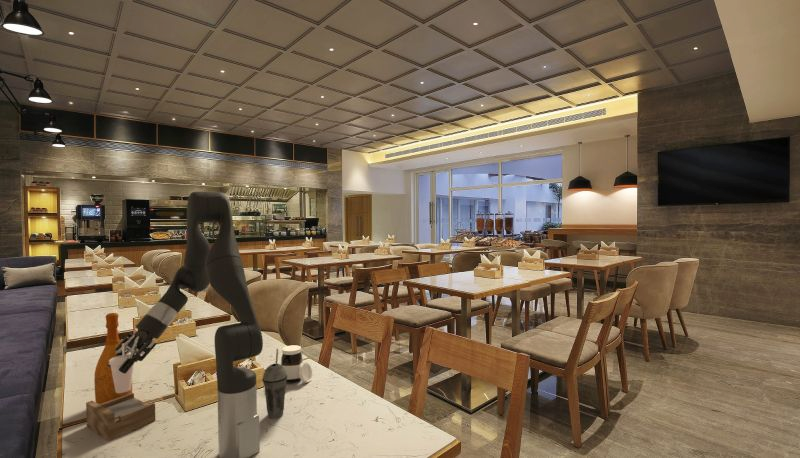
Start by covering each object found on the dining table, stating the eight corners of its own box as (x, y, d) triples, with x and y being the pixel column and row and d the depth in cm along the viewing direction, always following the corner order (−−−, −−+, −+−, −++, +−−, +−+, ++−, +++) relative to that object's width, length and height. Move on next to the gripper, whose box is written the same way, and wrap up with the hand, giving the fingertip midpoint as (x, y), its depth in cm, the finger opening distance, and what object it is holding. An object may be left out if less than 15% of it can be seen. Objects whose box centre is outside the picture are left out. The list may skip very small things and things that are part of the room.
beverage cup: (257, 417, 117) (256, 351, 117) (275, 406, 124) (274, 344, 123) (275, 423, 114) (274, 355, 114) (293, 412, 121) (292, 348, 120)
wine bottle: (128, 408, 123) (125, 315, 122) (90, 414, 120) (87, 318, 119) (136, 395, 132) (134, 308, 132) (101, 401, 129) (98, 311, 128)
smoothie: (122, 396, 111) (120, 347, 110) (104, 394, 112) (102, 346, 112) (141, 386, 117) (140, 340, 117) (123, 384, 118) (122, 339, 118)
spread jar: (283, 374, 150) (282, 344, 150) (313, 372, 152) (312, 342, 152) (279, 387, 138) (278, 355, 138) (311, 385, 140) (311, 353, 140)
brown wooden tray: (155, 420, 116) (154, 397, 116) (108, 440, 106) (108, 415, 105) (132, 408, 123) (132, 387, 123) (86, 426, 113) (86, 402, 113)
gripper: (136, 310, 124) (93, 358, 114) (160, 316, 117) (116, 368, 107) (154, 323, 129) (115, 370, 119) (178, 329, 121) (138, 380, 112)
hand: (116, 369), depth 113 cm, fingers closed on smoothie, 6 cm apart
